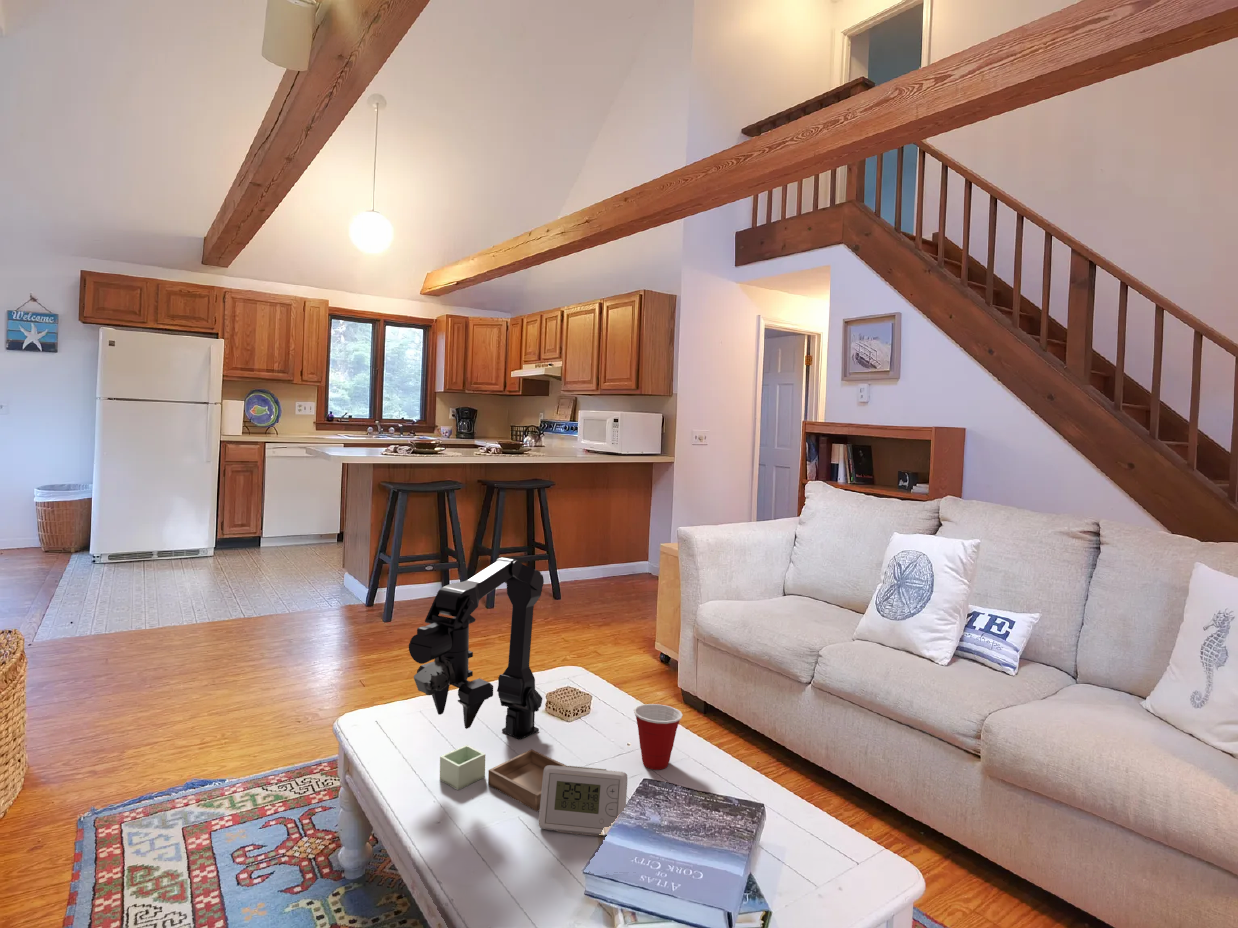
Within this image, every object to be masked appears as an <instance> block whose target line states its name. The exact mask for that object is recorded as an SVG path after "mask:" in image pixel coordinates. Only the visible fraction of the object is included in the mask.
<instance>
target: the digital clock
mask: <svg viewBox="0 0 1238 928" xmlns="http://www.w3.org/2000/svg"><path fill="white" fill-rule="evenodd" d="M627 791H628V775H627V773H626V772H624V771H617V770H607V768H597V767H585V766H577V765H576V766H574V765H566V767H565V766H554V765H548V766H546V767H545V768H544V772H543V780H542V791H541V801H540V810H539V812H538V814H539V815H538V826H539V828H540V829H542V830H547V831H548V830H549V831H556V832H557V833H564V834H565V833H566V834H572V835H573V834H575V835H583V836H585V835H586V836H594V837H595V836H596V837H598V836H597V835H599V834H601V832H602V830H603V828H604V827H609V826H611V823H613V822H614V821H615V819H616V818H617V816H618V815H619V814H620V813H621V812H622V811H624V808H625V807H626V808H627V796H628V792H627Z"/></svg>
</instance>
